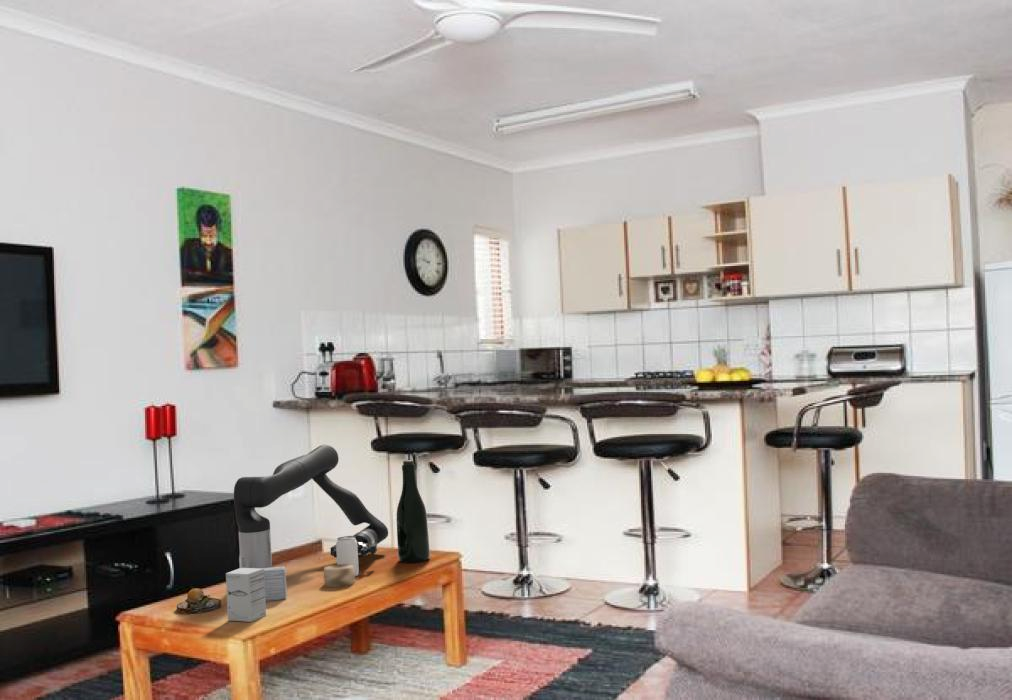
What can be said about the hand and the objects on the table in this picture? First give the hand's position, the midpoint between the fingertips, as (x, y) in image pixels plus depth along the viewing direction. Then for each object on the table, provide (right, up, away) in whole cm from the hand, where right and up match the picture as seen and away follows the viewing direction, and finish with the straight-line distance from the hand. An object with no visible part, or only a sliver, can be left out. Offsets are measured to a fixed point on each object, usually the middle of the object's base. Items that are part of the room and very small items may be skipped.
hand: (348, 553), depth 300 cm
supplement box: (-19, -7, -47) cm, 51 cm away
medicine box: (-17, -7, -27) cm, 33 cm away
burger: (-36, -9, -33) cm, 50 cm away
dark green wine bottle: (+19, -6, +18) cm, 27 cm away
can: (0, -7, -2) cm, 7 cm away
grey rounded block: (-1, -7, -12) cm, 13 cm away
